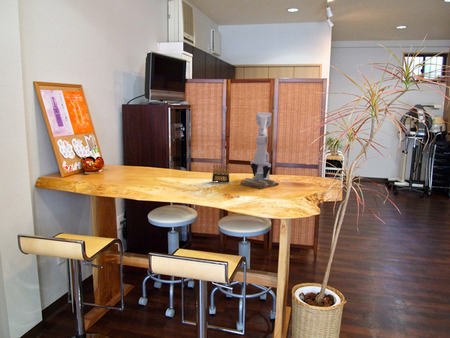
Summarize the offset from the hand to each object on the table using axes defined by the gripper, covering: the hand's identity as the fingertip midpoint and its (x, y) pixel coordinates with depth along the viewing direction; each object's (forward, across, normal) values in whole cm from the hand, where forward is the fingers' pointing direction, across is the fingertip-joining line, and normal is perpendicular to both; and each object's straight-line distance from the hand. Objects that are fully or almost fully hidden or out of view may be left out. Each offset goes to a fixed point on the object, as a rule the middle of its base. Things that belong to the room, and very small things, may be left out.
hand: (259, 177), depth 231 cm
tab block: (+3, 0, 0) cm, 3 cm away
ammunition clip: (+5, -20, -14) cm, 25 cm away
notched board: (+5, 0, 0) cm, 5 cm away
